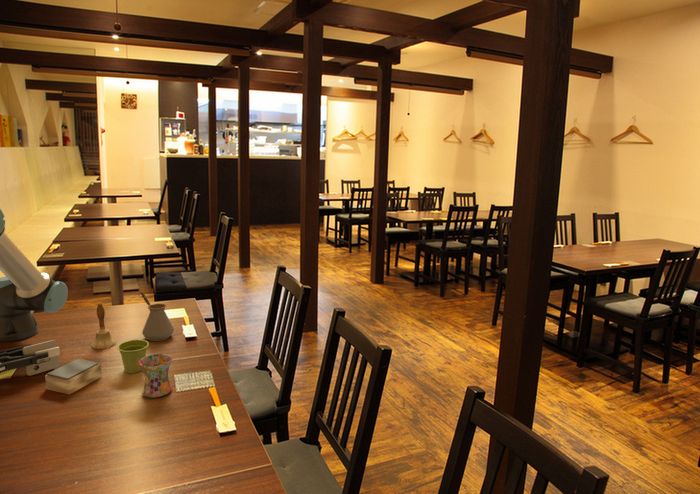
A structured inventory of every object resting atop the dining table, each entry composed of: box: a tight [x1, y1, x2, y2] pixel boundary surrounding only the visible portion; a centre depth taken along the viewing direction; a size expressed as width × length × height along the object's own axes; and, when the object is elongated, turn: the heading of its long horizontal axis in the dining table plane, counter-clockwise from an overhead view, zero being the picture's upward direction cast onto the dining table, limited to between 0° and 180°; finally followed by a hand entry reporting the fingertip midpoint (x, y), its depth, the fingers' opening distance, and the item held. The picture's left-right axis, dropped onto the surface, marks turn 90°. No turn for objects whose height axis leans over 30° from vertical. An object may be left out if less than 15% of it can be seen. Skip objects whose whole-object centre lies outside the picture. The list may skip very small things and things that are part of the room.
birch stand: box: [44, 358, 103, 395], centre depth 146 cm, size 12×9×5 cm
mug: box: [139, 353, 173, 398], centre depth 142 cm, size 12×9×11 cm
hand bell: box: [91, 303, 117, 350], centre depth 173 cm, size 8×8×16 cm
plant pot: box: [117, 339, 150, 374], centre depth 156 cm, size 9×9×9 cm
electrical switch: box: [22, 339, 61, 377], centre depth 152 cm, size 9×5×9 cm, turn 140°
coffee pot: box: [138, 291, 175, 342], centre depth 185 cm, size 21×12×15 cm, turn 45°
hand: (57, 348), depth 155 cm, fingers closed on electrical switch, 4 cm apart
